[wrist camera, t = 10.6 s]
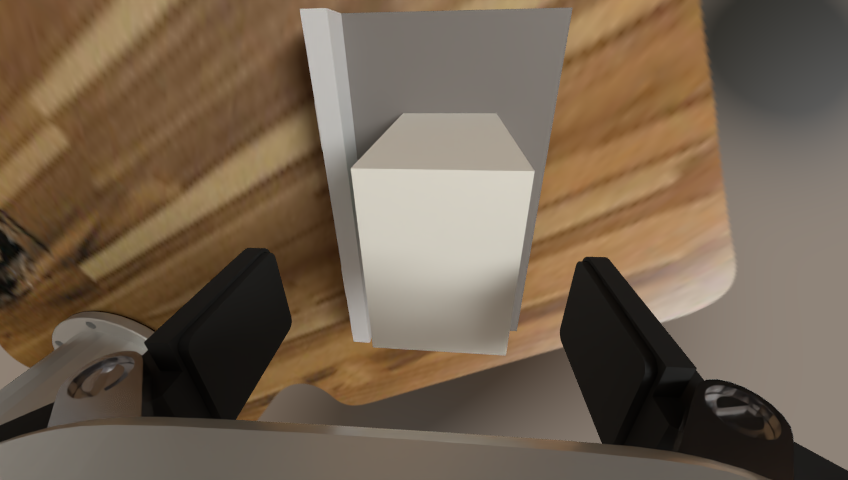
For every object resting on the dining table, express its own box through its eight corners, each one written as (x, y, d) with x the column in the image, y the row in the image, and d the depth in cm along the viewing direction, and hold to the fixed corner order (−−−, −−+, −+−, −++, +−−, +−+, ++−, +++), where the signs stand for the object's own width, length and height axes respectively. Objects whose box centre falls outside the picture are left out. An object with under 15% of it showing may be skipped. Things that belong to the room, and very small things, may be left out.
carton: (485, 230, 21) (505, 355, 12) (404, 227, 21) (367, 346, 13) (496, 113, 17) (534, 171, 9) (398, 113, 18) (342, 167, 9)
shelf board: (513, 317, 26) (520, 351, 23) (363, 309, 27) (350, 341, 24) (563, 11, 16) (587, 1, 13) (323, 17, 17) (295, 9, 14)
